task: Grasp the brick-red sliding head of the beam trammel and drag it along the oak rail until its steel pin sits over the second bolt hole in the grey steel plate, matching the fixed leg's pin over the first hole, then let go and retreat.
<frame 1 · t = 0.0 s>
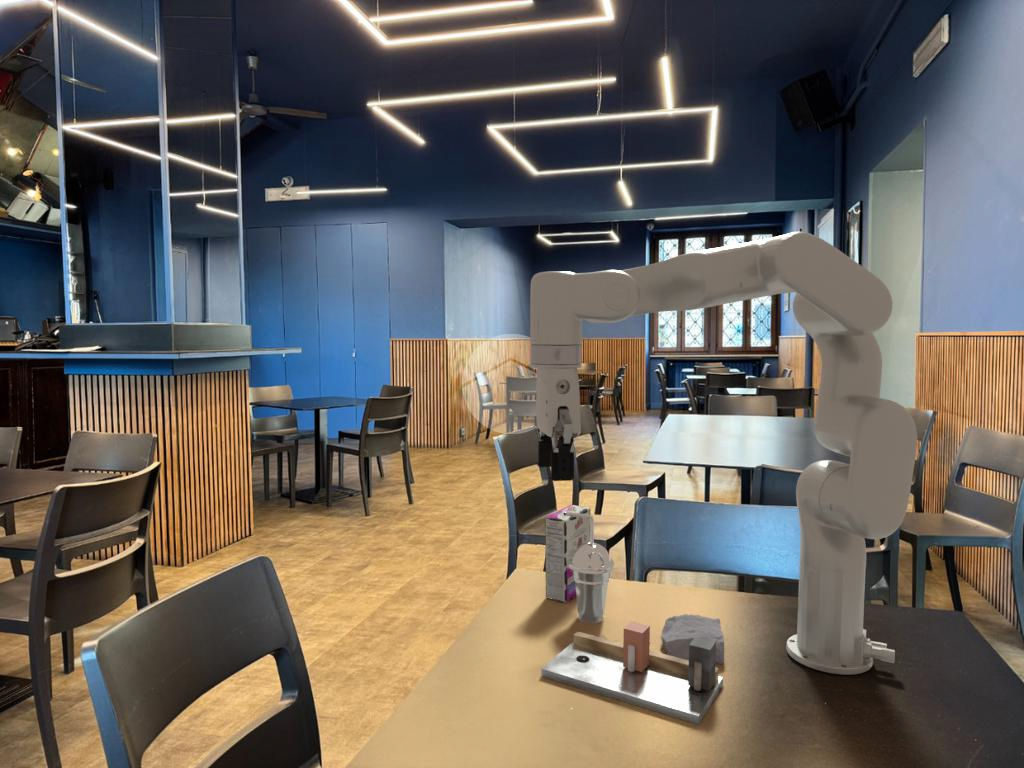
hand: (555, 473, 101), 31 cm above the table, tool pointing down, fingers open, 9 cm apart
candy bar box: (568, 592, 137), on the table
stone block: (691, 648, 114), on the table
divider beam: (637, 646, 104), on the bolt plate, point 4 cm above the table
sliding head: (635, 647, 103), point 4 cm above the table, slide at 0.0 cm
bolt plate: (631, 680, 102), on the table
drinking straw: (589, 618, 125), on the table
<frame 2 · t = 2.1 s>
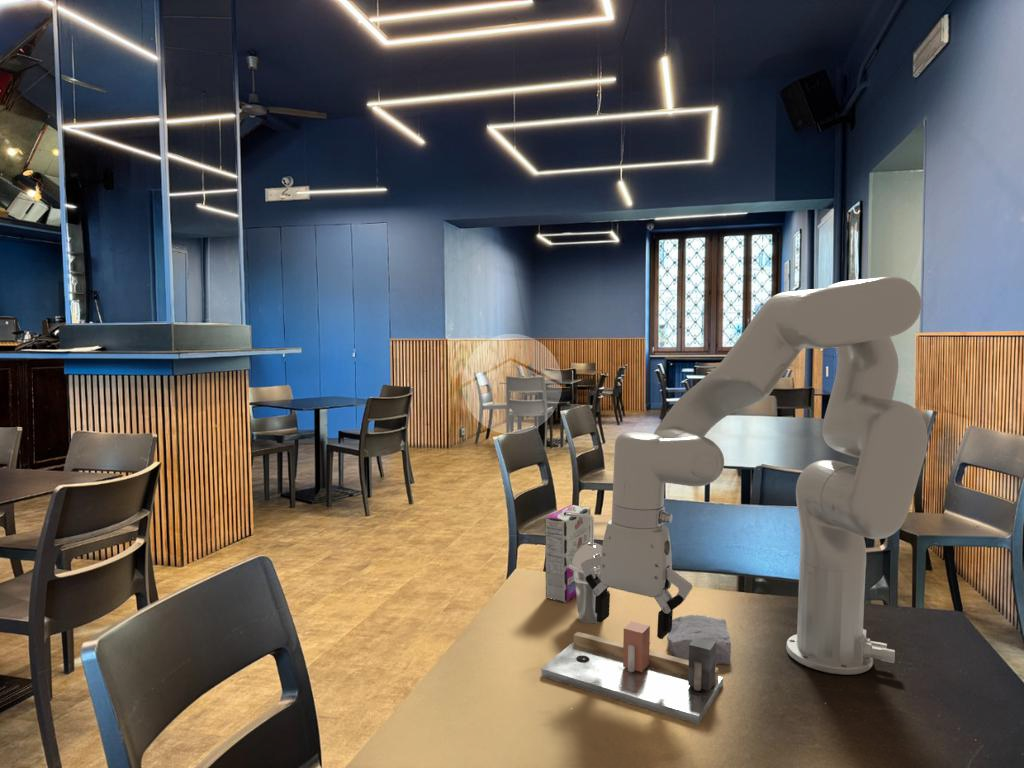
hand: (632, 627, 103), 8 cm above the table, tool pointing down, fingers open, 9 cm apart
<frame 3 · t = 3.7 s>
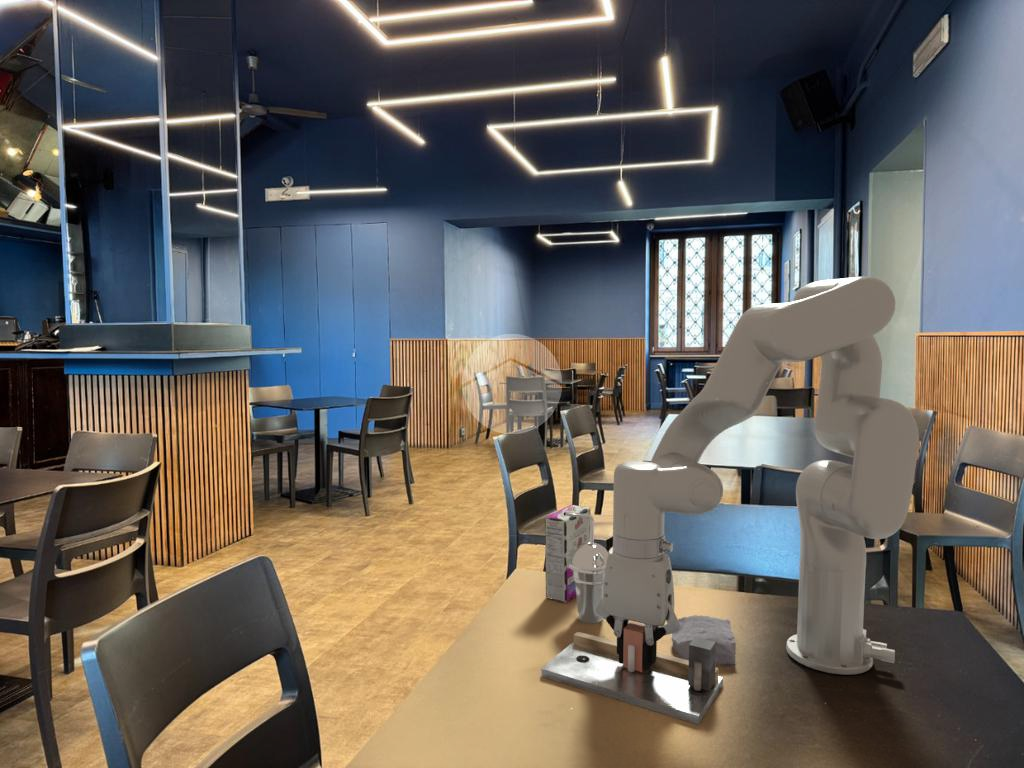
hand: (636, 662, 104), 2 cm above the table, tool pointing down, fingers closed on sliding head, 3 cm apart
sliding head: (635, 647, 103), point 4 cm above the table, slide at 0.0 cm, touching gripper
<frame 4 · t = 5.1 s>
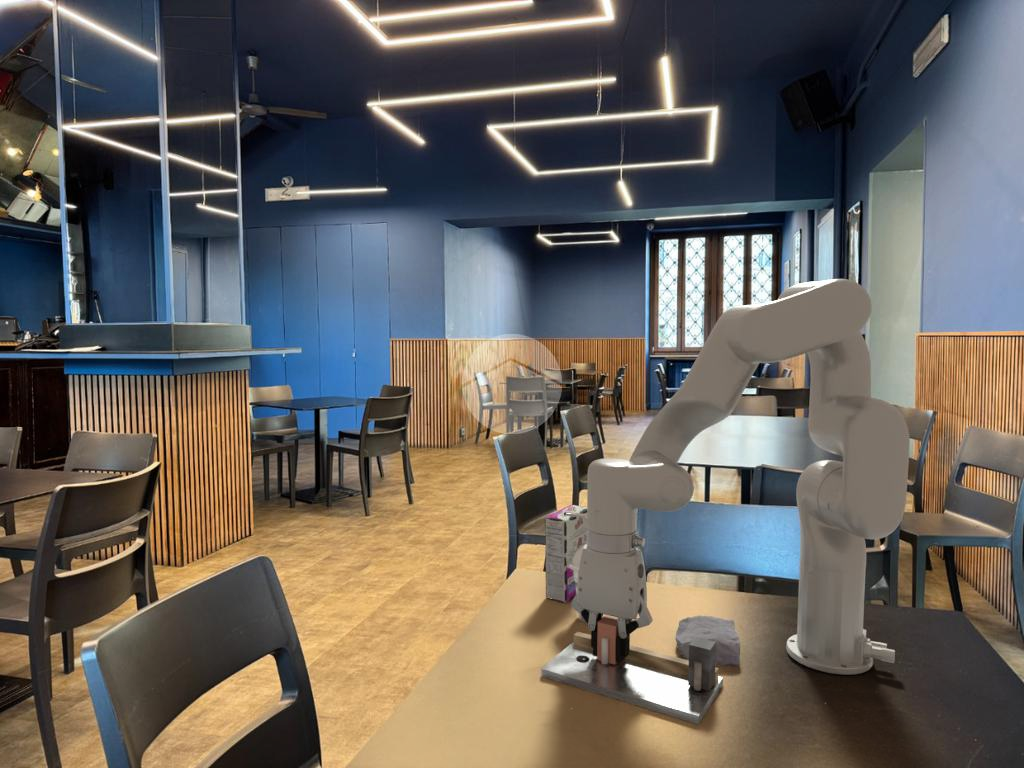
hand: (610, 654, 106), 2 cm above the table, tool pointing down, fingers closed on sliding head, 3 cm apart
sliding head: (609, 640, 106), point 5 cm above the table, slide at 4.3 cm, touching gripper
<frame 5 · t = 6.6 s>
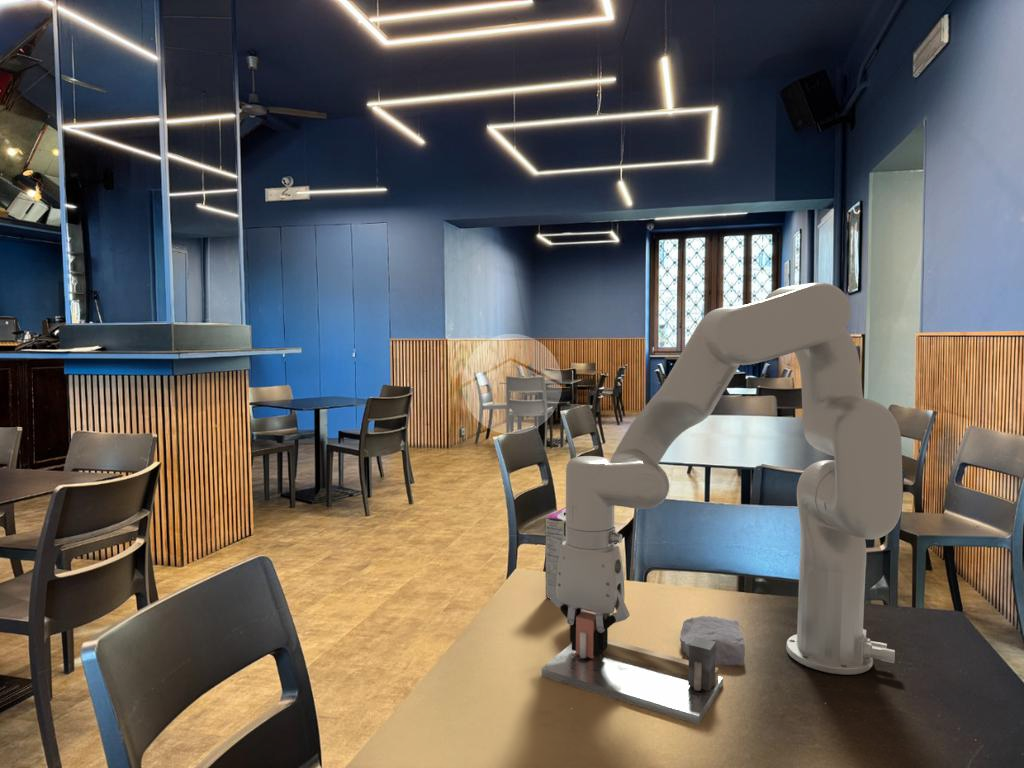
hand: (588, 649, 108), 2 cm above the table, tool pointing down, fingers closed on sliding head, 3 cm apart
sliding head: (587, 635, 108), point 4 cm above the table, slide at 8.0 cm, touching gripper
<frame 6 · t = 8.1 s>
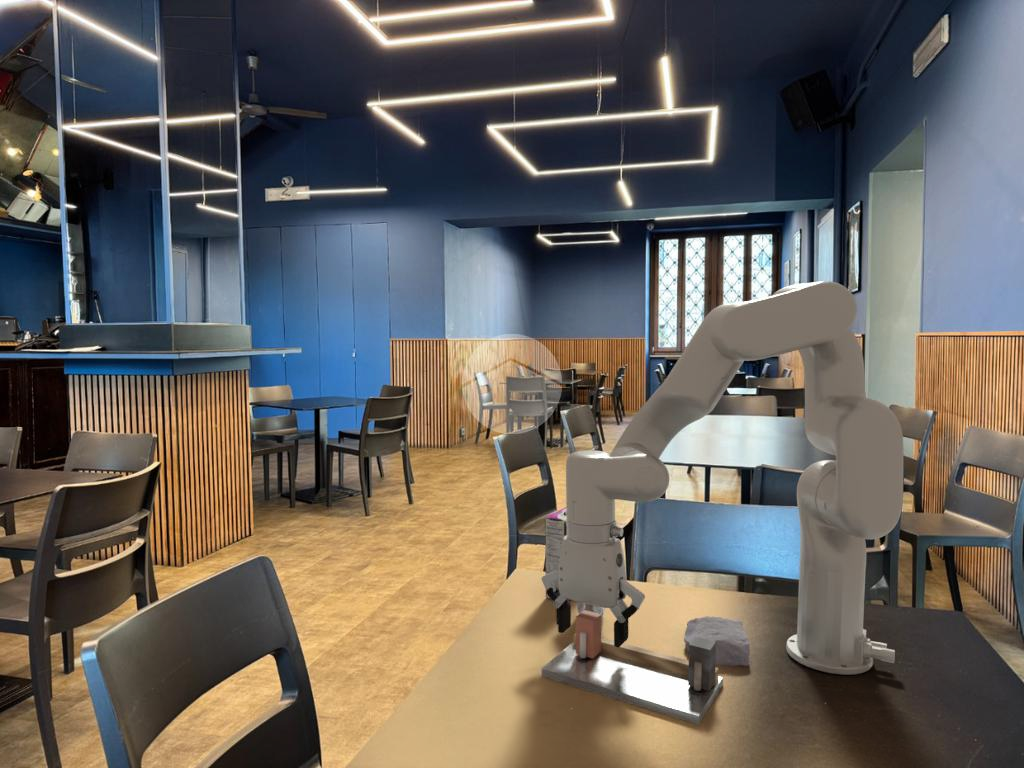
hand: (591, 636, 108), 4 cm above the table, tool pointing down, fingers open, 9 cm apart
sliding head: (587, 635, 108), point 5 cm above the table, slide at 8.0 cm
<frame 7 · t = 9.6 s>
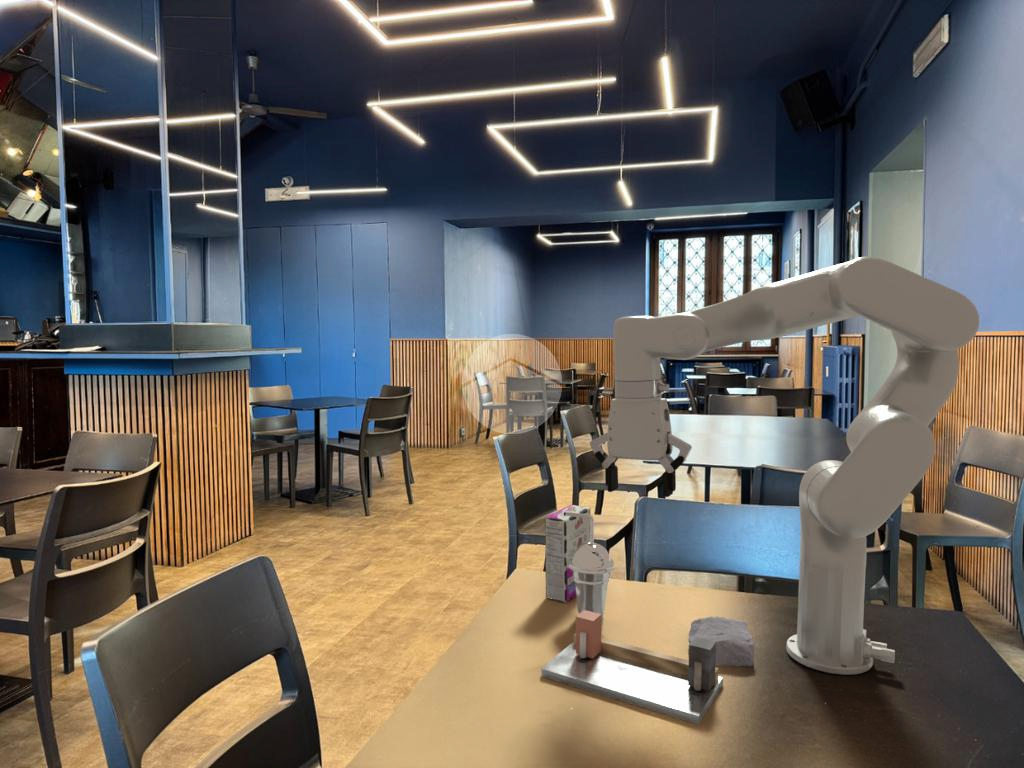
hand: (640, 492, 115), 25 cm above the table, tool pointing down, fingers open, 9 cm apart
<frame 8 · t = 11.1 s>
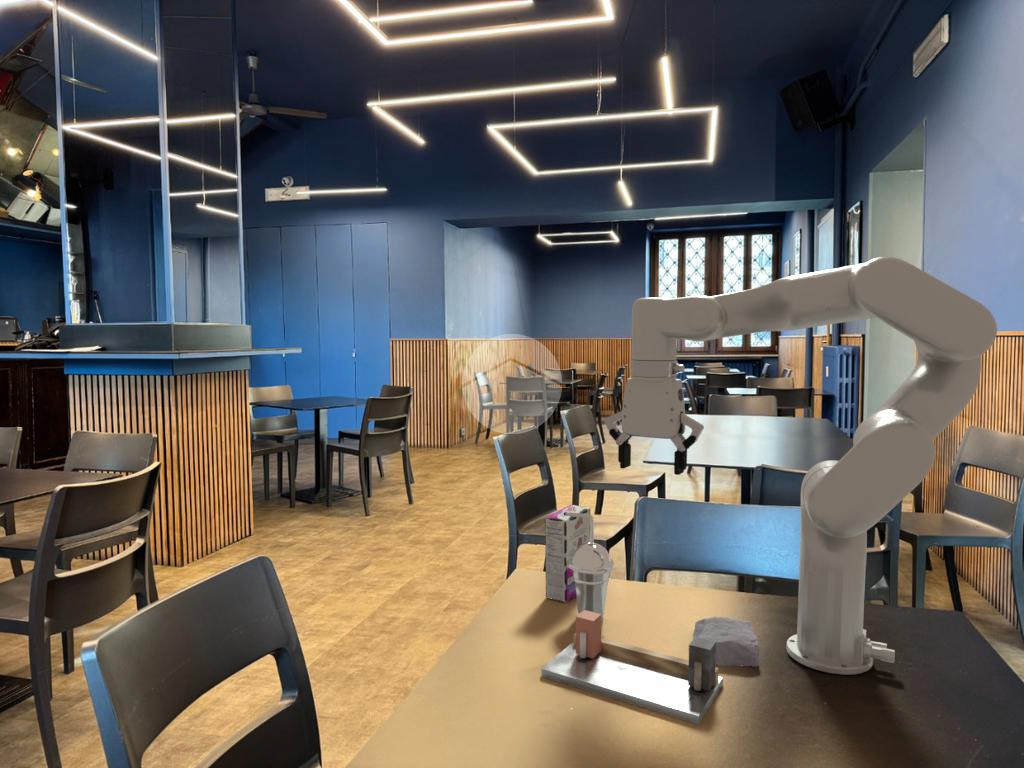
hand: (651, 470, 118), 28 cm above the table, tool pointing down, fingers open, 9 cm apart
at the end: sliding head slide at 8.0 cm; the gripper is holding nothing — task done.
